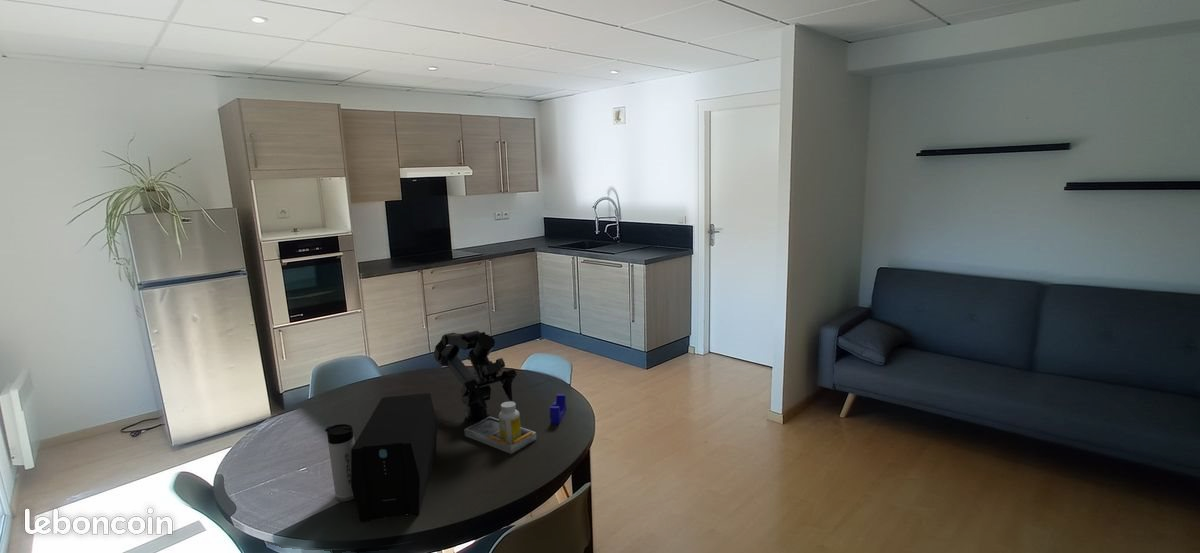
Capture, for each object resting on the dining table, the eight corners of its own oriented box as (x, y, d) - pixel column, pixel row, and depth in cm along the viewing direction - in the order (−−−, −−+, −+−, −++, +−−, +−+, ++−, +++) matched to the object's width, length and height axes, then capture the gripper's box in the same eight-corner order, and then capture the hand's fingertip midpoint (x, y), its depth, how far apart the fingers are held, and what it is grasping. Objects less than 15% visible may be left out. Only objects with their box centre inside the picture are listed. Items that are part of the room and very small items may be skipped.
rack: (464, 436, 180) (464, 426, 179) (490, 423, 188) (489, 414, 188) (511, 454, 167) (510, 444, 166) (536, 439, 176) (535, 429, 175)
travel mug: (339, 489, 151) (330, 422, 147) (364, 487, 151) (355, 421, 148) (330, 502, 145) (321, 433, 141) (356, 500, 145) (347, 431, 141)
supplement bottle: (523, 436, 178) (520, 399, 175) (519, 446, 171) (516, 408, 169) (503, 436, 178) (500, 400, 176) (498, 446, 172) (495, 408, 169)
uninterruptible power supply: (356, 523, 136) (346, 449, 132) (386, 456, 169) (379, 395, 165) (423, 514, 138) (415, 442, 135) (440, 450, 171) (434, 390, 167)
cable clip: (554, 409, 198) (553, 393, 197) (566, 409, 198) (565, 394, 197) (546, 424, 187) (545, 407, 186) (559, 424, 186) (558, 408, 185)
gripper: (461, 358, 173) (479, 401, 166) (512, 345, 184) (531, 385, 178) (453, 375, 180) (470, 417, 174) (502, 361, 192) (520, 400, 185)
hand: (499, 404), depth 178 cm, fingers open, 9 cm apart
